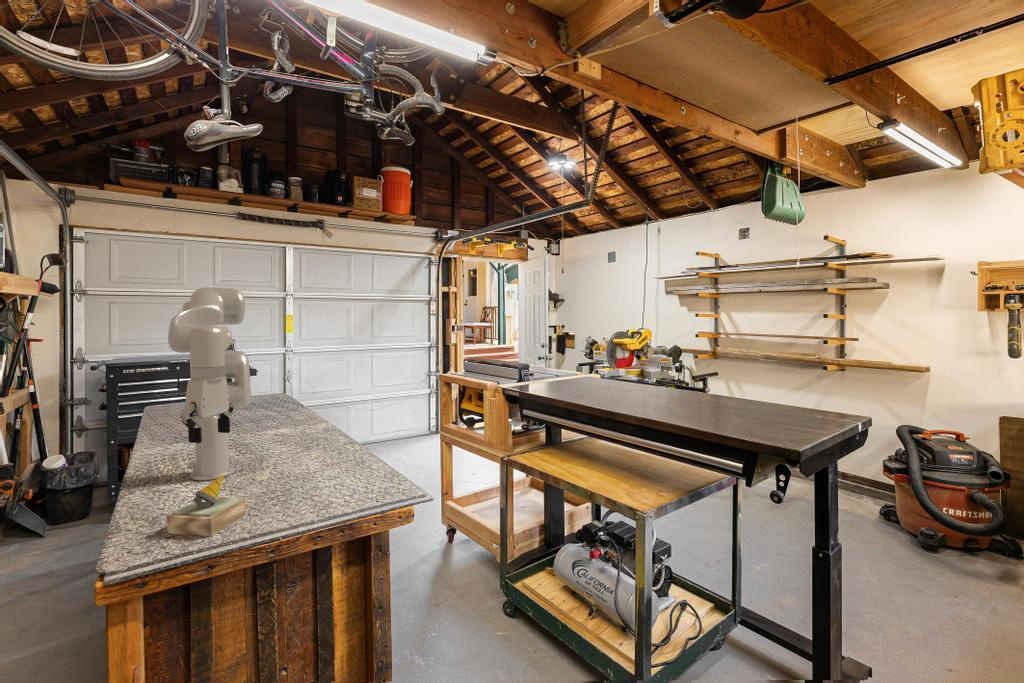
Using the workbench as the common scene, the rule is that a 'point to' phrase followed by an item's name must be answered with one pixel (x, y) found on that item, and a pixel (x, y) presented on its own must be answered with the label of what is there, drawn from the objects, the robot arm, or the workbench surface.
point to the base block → (206, 517)
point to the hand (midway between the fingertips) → (210, 437)
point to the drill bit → (208, 494)
